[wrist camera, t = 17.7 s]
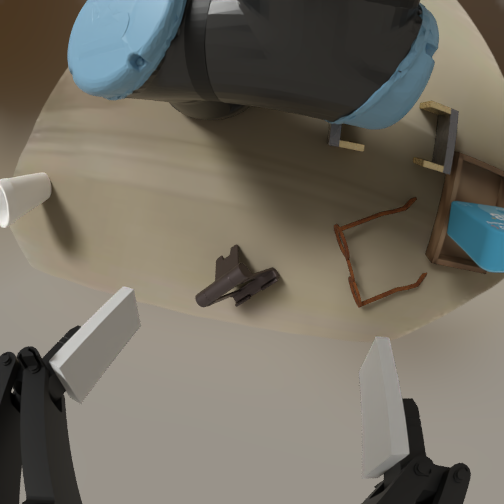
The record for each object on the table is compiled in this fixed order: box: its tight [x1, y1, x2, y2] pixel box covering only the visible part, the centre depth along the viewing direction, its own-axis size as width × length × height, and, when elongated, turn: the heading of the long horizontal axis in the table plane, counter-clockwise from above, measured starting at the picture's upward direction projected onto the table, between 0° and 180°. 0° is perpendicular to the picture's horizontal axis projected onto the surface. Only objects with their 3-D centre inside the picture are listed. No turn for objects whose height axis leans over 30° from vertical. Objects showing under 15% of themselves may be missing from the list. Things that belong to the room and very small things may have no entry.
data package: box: [447, 201, 504, 273], centre depth 23 cm, size 12×4×12 cm, turn 93°
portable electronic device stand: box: [196, 245, 279, 307], centre depth 40 cm, size 9×8×8 cm
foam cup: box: [0, 172, 51, 227], centre depth 40 cm, size 10×9×13 cm
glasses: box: [334, 197, 427, 308], centre depth 35 cm, size 13×13×5 cm
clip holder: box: [327, 101, 459, 175], centre depth 28 cm, size 9×16×4 cm, turn 85°
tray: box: [425, 151, 504, 274], centre depth 30 cm, size 16×12×3 cm
